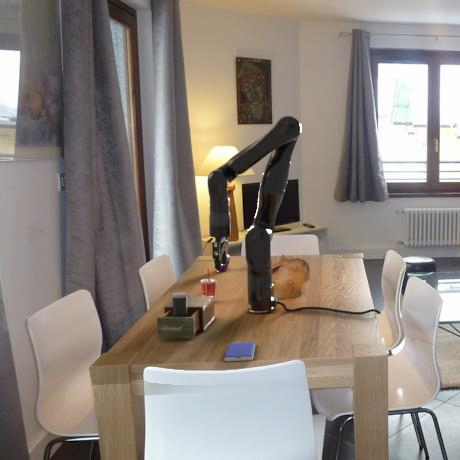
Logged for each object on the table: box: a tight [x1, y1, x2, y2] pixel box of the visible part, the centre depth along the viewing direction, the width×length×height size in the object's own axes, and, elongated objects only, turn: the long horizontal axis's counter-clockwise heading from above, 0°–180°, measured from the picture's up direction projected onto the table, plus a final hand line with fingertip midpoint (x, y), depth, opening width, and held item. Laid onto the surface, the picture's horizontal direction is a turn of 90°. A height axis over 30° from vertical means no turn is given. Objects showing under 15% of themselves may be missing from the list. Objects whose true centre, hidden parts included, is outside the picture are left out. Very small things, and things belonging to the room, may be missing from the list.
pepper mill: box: [171, 291, 188, 317], centre depth 208 cm, size 4×4×12 cm
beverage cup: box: [200, 267, 218, 304], centre depth 248 cm, size 6×6×14 cm
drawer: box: [156, 310, 201, 339], centre depth 208 cm, size 18×12×7 cm, turn 4°
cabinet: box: [163, 294, 216, 333], centre depth 220 cm, size 15×13×9 cm
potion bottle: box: [212, 254, 231, 273], centre depth 302 cm, size 9×9×12 cm
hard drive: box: [224, 341, 256, 362], centre depth 195 cm, size 2×8×12 cm
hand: (221, 266), depth 234 cm, fingers open, 8 cm apart
